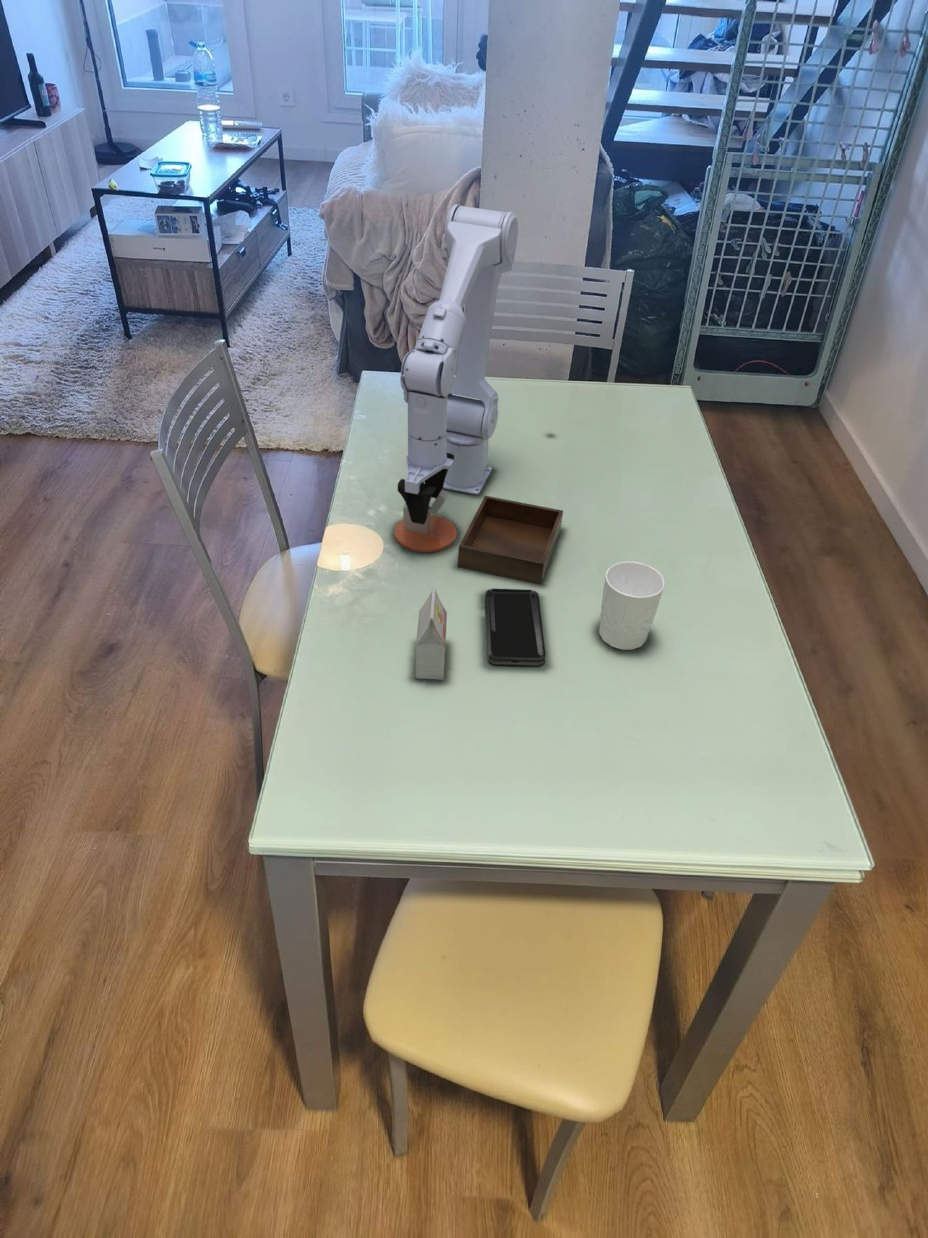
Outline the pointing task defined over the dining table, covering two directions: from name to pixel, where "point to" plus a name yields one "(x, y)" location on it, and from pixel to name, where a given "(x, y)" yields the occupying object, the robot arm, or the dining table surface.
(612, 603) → the white cup
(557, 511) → the tray
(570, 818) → the dining table surface
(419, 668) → the milk carton
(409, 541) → the coaster
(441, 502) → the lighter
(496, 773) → the dining table surface
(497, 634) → the phone
